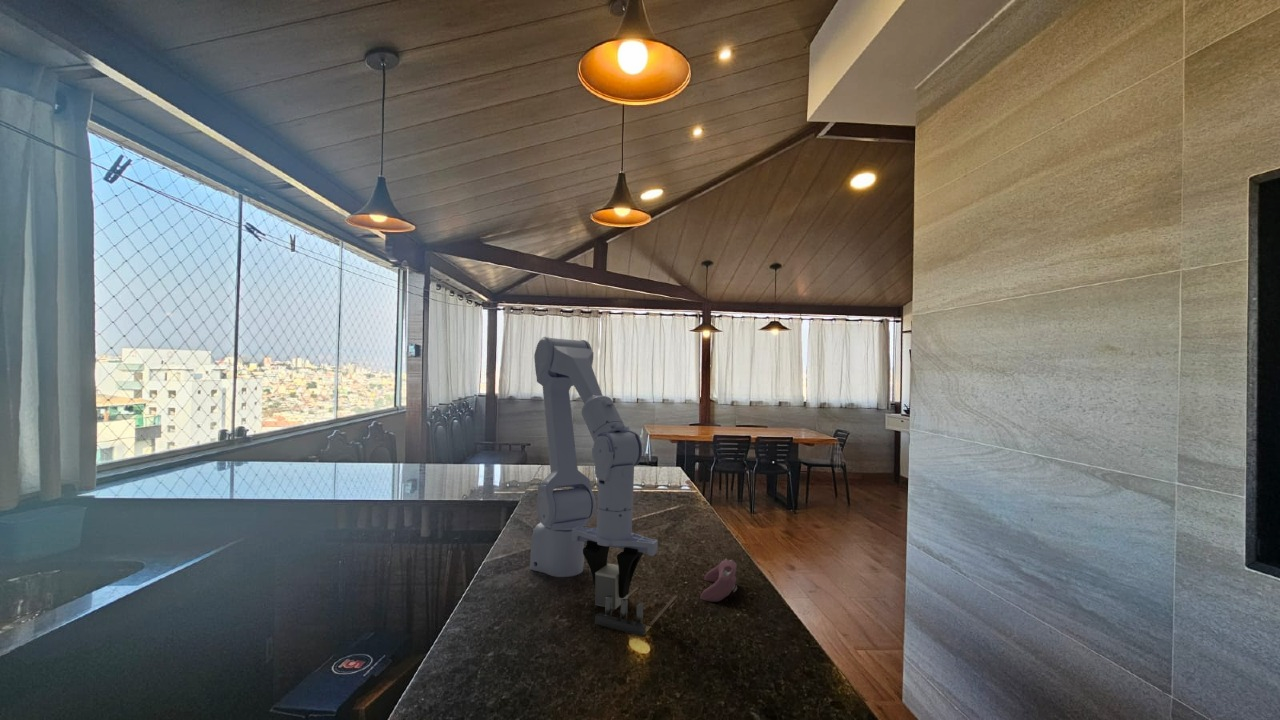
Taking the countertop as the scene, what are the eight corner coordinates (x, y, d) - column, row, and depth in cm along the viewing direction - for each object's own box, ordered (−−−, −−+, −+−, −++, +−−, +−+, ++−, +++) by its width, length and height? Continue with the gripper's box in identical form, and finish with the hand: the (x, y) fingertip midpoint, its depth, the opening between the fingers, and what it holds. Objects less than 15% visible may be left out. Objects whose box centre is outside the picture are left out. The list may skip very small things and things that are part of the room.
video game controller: (722, 618, 81) (743, 581, 81) (697, 602, 82) (718, 565, 82) (724, 593, 91) (743, 560, 91) (702, 579, 92) (720, 546, 92)
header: (594, 624, 73) (595, 599, 73) (601, 617, 75) (602, 593, 75) (642, 636, 70) (643, 610, 70) (648, 629, 72) (649, 604, 72)
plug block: (594, 605, 79) (594, 572, 79) (608, 594, 83) (608, 563, 84) (615, 609, 78) (615, 576, 78) (627, 598, 82) (628, 566, 82)
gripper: (563, 506, 80) (559, 592, 80) (646, 519, 75) (643, 612, 74) (585, 497, 87) (582, 577, 86) (663, 508, 81) (661, 594, 80)
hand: (611, 592), depth 81 cm, fingers closed on plug block, 4 cm apart
